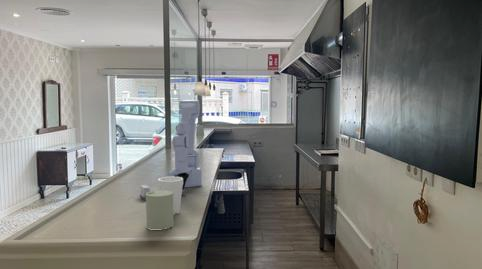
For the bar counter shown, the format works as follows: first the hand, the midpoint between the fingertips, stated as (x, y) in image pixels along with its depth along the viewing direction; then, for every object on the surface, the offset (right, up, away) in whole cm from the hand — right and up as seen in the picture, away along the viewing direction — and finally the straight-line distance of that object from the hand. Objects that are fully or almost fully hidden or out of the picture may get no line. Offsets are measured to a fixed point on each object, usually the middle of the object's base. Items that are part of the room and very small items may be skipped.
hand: (181, 189), depth 167 cm
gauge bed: (-8, -2, -4) cm, 9 cm away
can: (0, -6, -46) cm, 46 cm away
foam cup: (+1, -4, -30) cm, 30 cm away
